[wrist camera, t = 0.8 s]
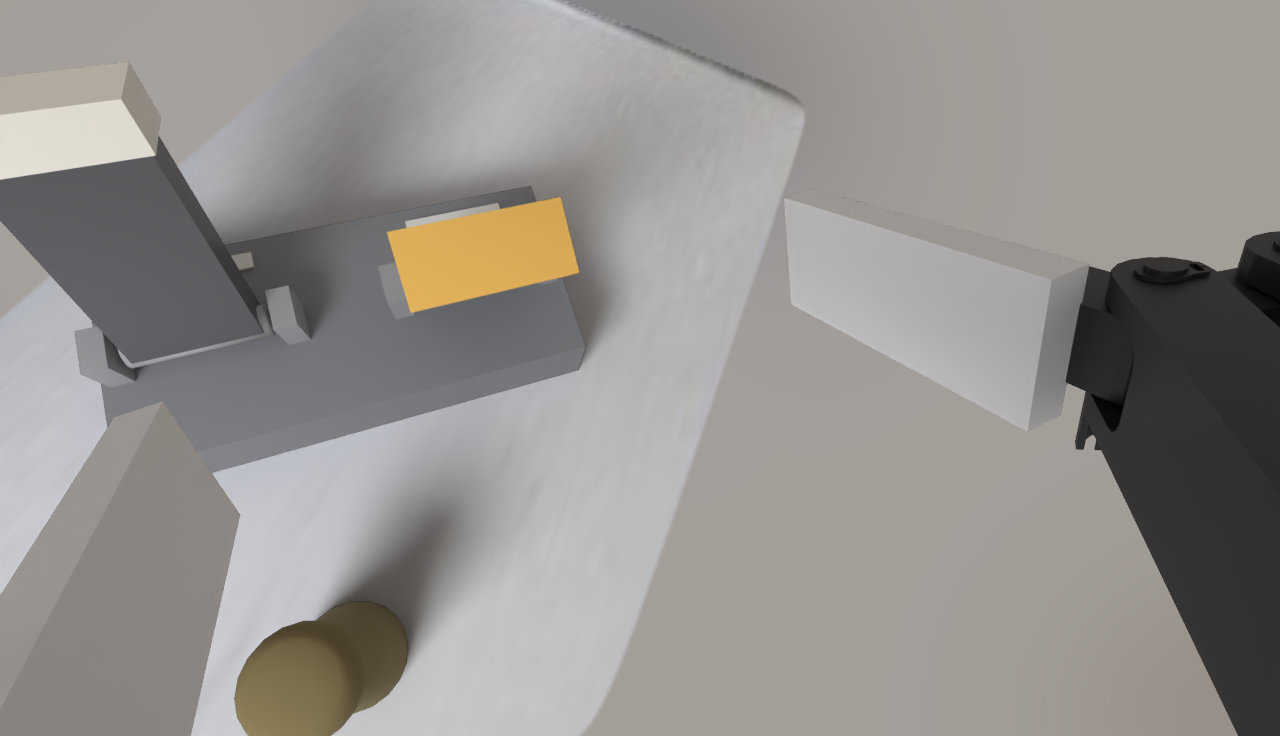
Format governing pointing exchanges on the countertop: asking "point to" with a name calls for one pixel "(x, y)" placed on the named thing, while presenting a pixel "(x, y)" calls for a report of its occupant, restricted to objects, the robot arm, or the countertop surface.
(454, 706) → the countertop surface
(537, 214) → the amber lever
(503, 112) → the countertop surface
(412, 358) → the switch block
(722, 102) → the countertop surface
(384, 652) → the cork
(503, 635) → the countertop surface
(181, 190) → the cream lever
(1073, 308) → the robot arm
